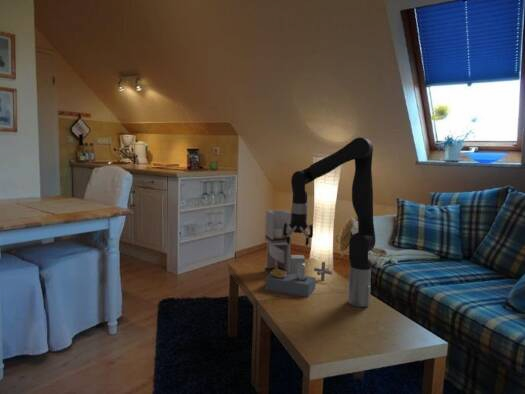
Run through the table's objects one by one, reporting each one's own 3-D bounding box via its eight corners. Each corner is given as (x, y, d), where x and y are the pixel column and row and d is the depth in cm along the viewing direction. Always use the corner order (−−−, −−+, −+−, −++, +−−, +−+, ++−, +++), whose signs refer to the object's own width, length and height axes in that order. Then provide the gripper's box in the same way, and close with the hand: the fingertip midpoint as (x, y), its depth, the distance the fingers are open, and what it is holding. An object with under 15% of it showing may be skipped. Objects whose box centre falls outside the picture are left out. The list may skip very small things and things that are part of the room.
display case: (264, 271, 227) (266, 210, 222) (282, 270, 230) (284, 210, 226) (270, 277, 216) (272, 213, 212) (289, 276, 219) (291, 213, 215)
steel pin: (305, 290, 198) (306, 262, 196) (302, 292, 194) (304, 265, 193) (297, 289, 199) (298, 261, 198) (295, 291, 196) (296, 263, 194)
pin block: (315, 289, 200) (315, 277, 199) (308, 297, 189) (308, 284, 188) (274, 282, 208) (274, 271, 208) (265, 289, 198) (265, 277, 197)
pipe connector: (326, 284, 207) (327, 266, 206) (309, 280, 213) (310, 262, 212) (335, 280, 215) (336, 262, 213) (319, 276, 221) (319, 258, 219)
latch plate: (289, 274, 203) (289, 272, 203) (283, 279, 195) (283, 277, 195) (275, 269, 205) (276, 267, 205) (269, 274, 198) (269, 272, 198)
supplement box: (304, 281, 210) (305, 258, 209) (290, 281, 211) (290, 258, 209) (302, 277, 218) (303, 254, 216) (289, 277, 218) (290, 254, 216)
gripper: (314, 211, 195) (312, 244, 197) (285, 209, 197) (283, 241, 200) (313, 214, 188) (311, 247, 190) (283, 212, 190) (282, 245, 192)
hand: (297, 244), depth 195 cm, fingers open, 8 cm apart
